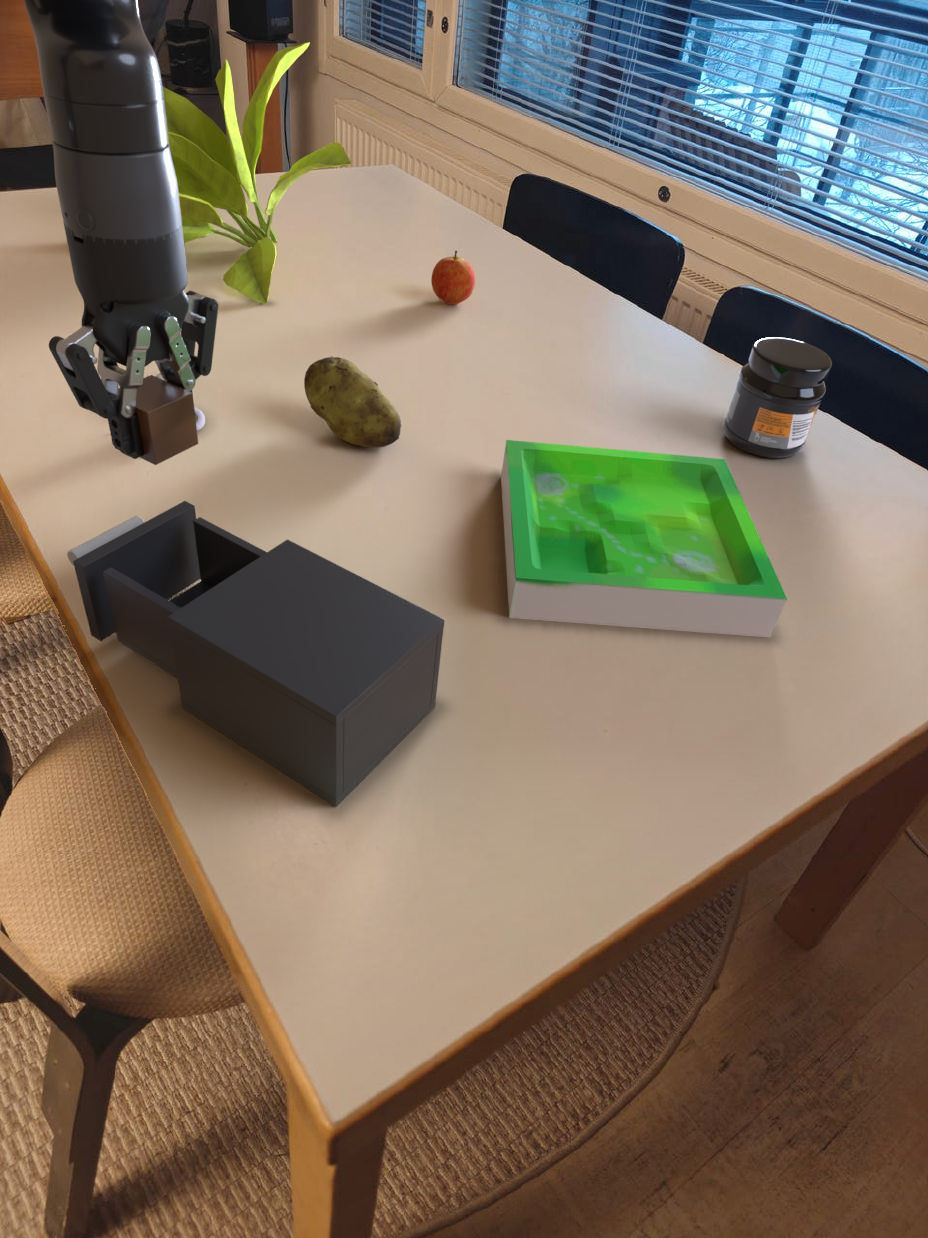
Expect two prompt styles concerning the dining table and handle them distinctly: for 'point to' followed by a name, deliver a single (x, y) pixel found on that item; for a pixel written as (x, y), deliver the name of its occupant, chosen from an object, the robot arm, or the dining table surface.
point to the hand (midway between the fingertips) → (156, 441)
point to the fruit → (453, 279)
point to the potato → (351, 403)
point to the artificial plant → (235, 172)
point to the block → (165, 419)
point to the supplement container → (777, 397)
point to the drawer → (153, 576)
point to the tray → (633, 542)
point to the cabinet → (307, 666)
